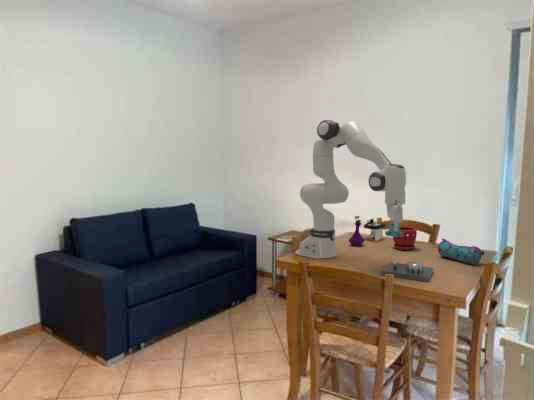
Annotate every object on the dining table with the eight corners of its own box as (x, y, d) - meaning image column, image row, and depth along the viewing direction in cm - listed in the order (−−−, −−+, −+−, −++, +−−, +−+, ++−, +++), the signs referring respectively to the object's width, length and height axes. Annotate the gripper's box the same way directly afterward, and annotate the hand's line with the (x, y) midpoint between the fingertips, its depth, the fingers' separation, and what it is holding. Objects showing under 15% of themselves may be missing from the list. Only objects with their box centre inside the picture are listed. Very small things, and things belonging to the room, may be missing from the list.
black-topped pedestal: (363, 233, 270) (364, 214, 269) (401, 239, 254) (402, 218, 252) (343, 241, 249) (344, 220, 247) (383, 247, 232) (384, 224, 231)
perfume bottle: (353, 243, 241) (353, 214, 238) (364, 245, 236) (365, 215, 234) (348, 245, 235) (348, 215, 232) (360, 247, 230) (360, 217, 228)
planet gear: (381, 234, 184) (381, 223, 183) (394, 233, 187) (394, 222, 186) (393, 237, 177) (393, 226, 176) (406, 235, 180) (407, 225, 179)
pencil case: (483, 264, 195) (485, 245, 194) (473, 267, 191) (474, 247, 190) (446, 255, 213) (447, 237, 212) (435, 257, 209) (436, 239, 208)
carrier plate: (381, 274, 179) (381, 262, 178) (389, 266, 193) (389, 254, 192) (428, 282, 169) (428, 268, 168) (433, 272, 183) (433, 259, 182)
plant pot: (420, 249, 226) (421, 228, 224) (406, 252, 219) (407, 231, 217) (401, 244, 237) (402, 225, 235) (387, 247, 229) (387, 227, 228)
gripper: (406, 202, 169) (405, 233, 171) (398, 197, 190) (397, 226, 191) (391, 202, 170) (390, 233, 172) (384, 197, 191) (384, 225, 192)
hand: (394, 229), depth 182 cm, fingers closed on planet gear, 5 cm apart
